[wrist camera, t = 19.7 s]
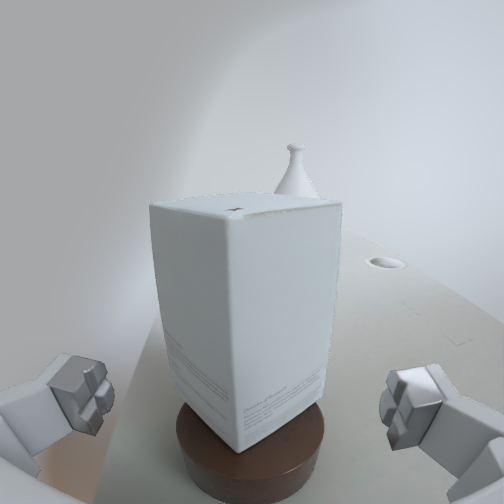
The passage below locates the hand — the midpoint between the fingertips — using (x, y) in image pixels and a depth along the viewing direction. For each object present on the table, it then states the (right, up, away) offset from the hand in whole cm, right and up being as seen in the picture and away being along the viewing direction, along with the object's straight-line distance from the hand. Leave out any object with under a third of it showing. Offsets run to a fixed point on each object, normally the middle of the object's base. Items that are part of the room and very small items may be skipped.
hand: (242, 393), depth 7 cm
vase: (+13, +11, +82) cm, 83 cm away
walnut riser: (0, -10, +10) cm, 14 cm away
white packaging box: (0, -6, +11) cm, 12 cm away
